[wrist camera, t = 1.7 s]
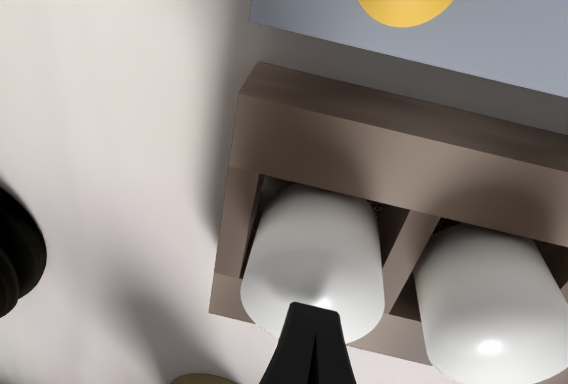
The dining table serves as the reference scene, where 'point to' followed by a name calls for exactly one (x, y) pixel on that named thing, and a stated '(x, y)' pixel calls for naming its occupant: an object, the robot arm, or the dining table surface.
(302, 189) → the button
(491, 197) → the button board
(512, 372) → the middle button
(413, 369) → the dining table surface
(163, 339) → the dining table surface
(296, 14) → the pattern card
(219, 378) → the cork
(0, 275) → the container
